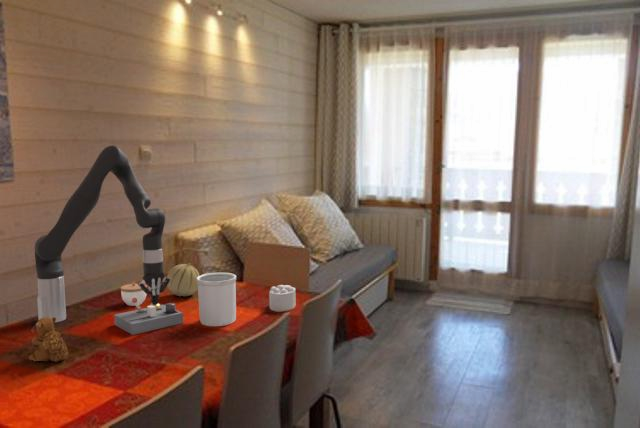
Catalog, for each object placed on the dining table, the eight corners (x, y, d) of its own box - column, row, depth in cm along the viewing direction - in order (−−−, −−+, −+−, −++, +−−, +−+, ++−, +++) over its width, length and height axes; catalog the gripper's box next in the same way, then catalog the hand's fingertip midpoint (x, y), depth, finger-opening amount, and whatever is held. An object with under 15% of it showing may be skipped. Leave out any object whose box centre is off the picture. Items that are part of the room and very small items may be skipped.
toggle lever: (139, 313, 212) (132, 300, 209) (137, 312, 213) (130, 299, 211) (143, 309, 213) (136, 297, 210) (141, 308, 214) (134, 296, 212)
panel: (132, 335, 198) (132, 323, 198) (114, 324, 210) (114, 314, 210) (183, 323, 212) (182, 312, 211) (163, 314, 223) (163, 304, 223)
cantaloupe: (164, 294, 255) (163, 262, 253) (196, 290, 261) (195, 259, 260) (170, 301, 242) (169, 268, 240) (203, 297, 248) (202, 264, 246)
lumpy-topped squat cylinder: (297, 303, 238) (297, 283, 237) (290, 312, 225) (290, 291, 224) (274, 302, 240) (273, 282, 239) (265, 311, 227) (265, 290, 226)
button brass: (152, 313, 214) (152, 306, 214) (148, 311, 217) (148, 304, 216) (161, 311, 216) (161, 304, 216) (157, 309, 219) (157, 302, 219)
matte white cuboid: (151, 317, 205) (150, 307, 205) (147, 315, 207) (147, 306, 207) (156, 315, 207) (155, 306, 206) (152, 314, 209) (152, 305, 208)
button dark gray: (168, 313, 210) (168, 305, 209) (164, 311, 212) (163, 304, 212) (177, 311, 212) (176, 304, 212) (172, 309, 215) (172, 302, 214)
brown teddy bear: (56, 349, 185) (54, 311, 183) (78, 359, 176) (76, 318, 174) (25, 358, 177) (23, 318, 175) (47, 369, 168) (44, 326, 167)
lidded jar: (142, 307, 234) (141, 285, 233) (117, 307, 234) (116, 285, 233) (150, 300, 244) (150, 279, 243) (126, 300, 244) (125, 279, 243)
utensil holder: (229, 328, 205) (228, 281, 203) (191, 326, 208) (190, 280, 206) (242, 316, 220) (241, 273, 218) (207, 314, 223) (206, 271, 221)
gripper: (141, 264, 207) (143, 309, 209) (173, 259, 216) (175, 302, 218) (132, 261, 213) (134, 305, 215) (164, 256, 222) (166, 299, 224)
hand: (155, 303), depth 216 cm, fingers closed
